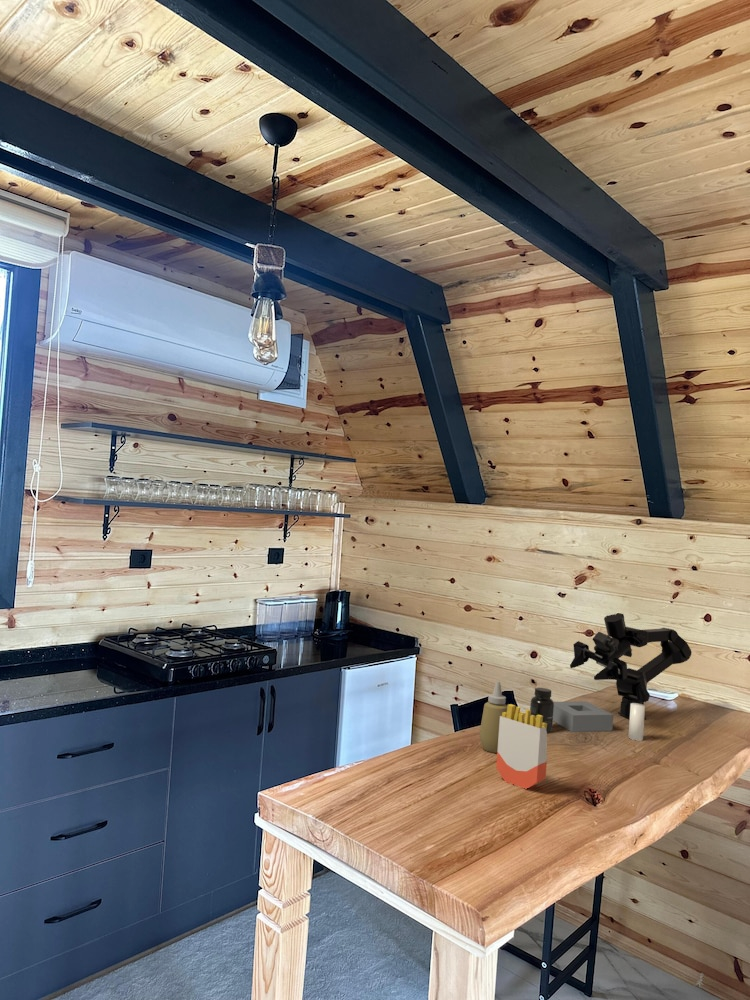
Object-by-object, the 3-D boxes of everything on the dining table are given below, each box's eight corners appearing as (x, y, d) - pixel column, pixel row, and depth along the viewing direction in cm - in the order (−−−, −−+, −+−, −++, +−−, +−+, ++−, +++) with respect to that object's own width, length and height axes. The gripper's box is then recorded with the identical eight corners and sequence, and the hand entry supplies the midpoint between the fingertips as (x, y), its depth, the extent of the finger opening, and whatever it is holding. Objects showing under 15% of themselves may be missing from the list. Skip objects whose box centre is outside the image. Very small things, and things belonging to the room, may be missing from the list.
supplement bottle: (552, 734, 199) (555, 693, 200) (528, 731, 201) (531, 690, 201) (551, 727, 206) (554, 688, 206) (528, 724, 207) (531, 685, 208)
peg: (636, 736, 204) (639, 702, 204) (645, 740, 200) (648, 706, 200) (625, 736, 203) (627, 703, 203) (634, 741, 199) (636, 706, 199)
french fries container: (505, 773, 166) (511, 699, 166) (545, 788, 158) (551, 711, 159) (495, 778, 162) (500, 702, 163) (535, 793, 155) (541, 714, 155)
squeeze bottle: (510, 747, 185) (515, 681, 185) (506, 757, 177) (511, 688, 178) (481, 742, 188) (485, 677, 188) (475, 751, 180) (480, 683, 180)
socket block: (585, 716, 221) (586, 701, 221) (612, 731, 207) (613, 714, 207) (547, 717, 217) (548, 701, 217) (572, 732, 203) (573, 715, 203)
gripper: (588, 618, 224) (556, 639, 216) (638, 639, 209) (605, 662, 201) (591, 647, 228) (559, 668, 220) (639, 669, 213) (608, 693, 205)
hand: (582, 672), depth 211 cm, fingers open, 9 cm apart
